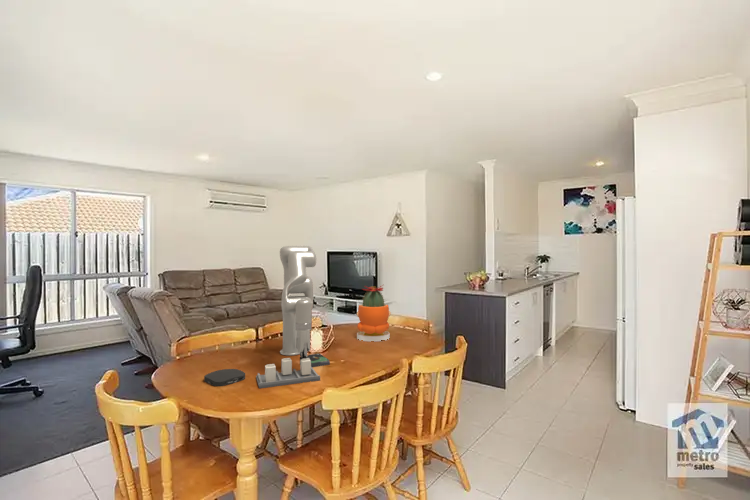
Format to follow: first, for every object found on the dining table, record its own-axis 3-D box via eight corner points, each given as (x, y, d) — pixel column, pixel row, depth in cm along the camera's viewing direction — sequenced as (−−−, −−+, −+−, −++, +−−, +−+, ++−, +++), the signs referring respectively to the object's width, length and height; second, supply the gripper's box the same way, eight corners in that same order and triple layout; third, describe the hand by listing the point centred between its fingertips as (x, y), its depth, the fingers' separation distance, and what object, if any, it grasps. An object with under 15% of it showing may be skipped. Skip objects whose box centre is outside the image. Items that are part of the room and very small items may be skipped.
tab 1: (265, 379, 163) (265, 363, 163) (274, 378, 165) (274, 362, 165) (266, 382, 159) (266, 366, 159) (275, 381, 161) (275, 365, 161)
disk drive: (300, 361, 197) (310, 368, 184) (300, 355, 197) (310, 362, 184) (319, 358, 202) (330, 365, 189) (319, 353, 202) (330, 359, 189)
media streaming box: (231, 372, 177) (231, 366, 177) (248, 379, 168) (248, 372, 168) (200, 380, 166) (200, 374, 166) (217, 388, 157) (217, 381, 157)
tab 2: (281, 372, 172) (281, 357, 172) (290, 371, 174) (290, 356, 174) (282, 375, 169) (282, 360, 168) (291, 374, 170) (291, 359, 170)
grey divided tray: (256, 377, 169) (256, 373, 169) (312, 370, 179) (312, 366, 179) (259, 388, 156) (259, 383, 156) (320, 380, 166) (320, 375, 166)
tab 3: (300, 372, 172) (300, 357, 172) (308, 371, 174) (309, 356, 174) (302, 375, 169) (302, 360, 169) (310, 374, 170) (310, 359, 170)
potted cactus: (355, 335, 252) (356, 283, 252) (388, 334, 254) (389, 283, 254) (357, 343, 230) (358, 286, 230) (393, 342, 233) (394, 286, 233)
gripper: (292, 323, 181) (292, 362, 181) (298, 330, 167) (298, 371, 167) (308, 322, 184) (308, 360, 184) (315, 328, 170) (315, 369, 170)
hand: (303, 365), depth 175 cm, fingers closed
